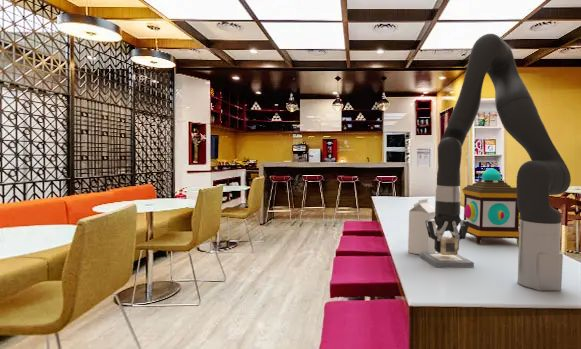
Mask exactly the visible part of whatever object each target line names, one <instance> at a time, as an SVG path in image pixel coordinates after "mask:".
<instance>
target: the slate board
mask: <svg viewBox="0 0 581 349" xmlns="http://www.w3.org/2000/svg"><path fill="white" fill-rule="evenodd" d="M419 256H420V258H421V259H422V260H424V261H426V262H427V263H428V264H430V265H432V266H433V267H434V268H475V262H473V261H472V260H470V259H468V258H466V257H464V256H462V255H460V254H458V255H441V254H439V253H438V252H435V253H421V255H419Z"/></svg>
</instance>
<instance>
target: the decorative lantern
mask: <svg viewBox="0 0 581 349" xmlns="http://www.w3.org/2000/svg"><path fill="white" fill-rule="evenodd" d="M461 191H462V193H463V196H464V198H463V199H464V203H463V206H464V207H463V208H464V209H463V220H466V221H468V222H469V226H468V230H467V233H466V234H468V235H471V236H473V237H475V239H476V244H477V245H479V246H480V245H481V243H482V240H483V239H516V244H517V246H519V226H520V213H519V210H518V207H517V187H514V186H513V187H512V186H511V185H509V184H508V183H507V182H505V180H504V179H503V180H502V176H501V173H500V172H499V171H498V170H497V169H495V168H493V167H492V168H487V169H486V170H485V171H484V172H483V173H482V175H481V179H478V181H475V182H474V183H472V184H467V186H465V187H463V188H462V189H461Z"/></svg>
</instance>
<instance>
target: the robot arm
mask: <svg viewBox="0 0 581 349" xmlns="http://www.w3.org/2000/svg"><path fill="white" fill-rule="evenodd" d="M486 75H488V76H489V78H490V80H491V82H492V85H493V87H494V103H495V108H496V112H497V115H498V117H499V120H500V122H501V125H502V127H503V128H504V129H505V131H506V132H507V134H509V135H510V136H511V137H512V138H513V139H514V140H515V141H516V142H517V143H518V144H519V145H520V146H521V147H522V148H523V149H524V150H525V151H526V152H527V154H528V156H529V159H530V160H528V161H527V160H526V161H525V162H524V163H522V164H521V166H520V167H519V169H518V171H517V174H516V188H517V207H518V210H519V225H518V229H519V245H518V256H517V258H518V259H517V283H518V284H520V285H521V286H524V287H525V288H529V289H533V290H534V289H535V290H536V291H539V292H540V291H542V292H543V291H562V287H563V286H562V282H563V281H562V280H563V259H564V256H563V253H561V240H562V239H561V237H562V235H561V234H562V213H561V211H560V210H558V209H555V208H554V207H553V206H552V204H551V203H550V196H557V195H561V194H564V193H566V191H567V190H568V189H569V188H570V185H571V183H572V182H571V180H572V178H571V173H570V169H569V168H568V165H567V164H566V162H565V161H564V159H563V158H562V156H561V155H560V152H559V151H558V149H557V148H556V146H555V145H554V143H553V141H552V139H551V137H550V135H549V132H548V131H547V129H546V127H545V124H544V122H543V121H542V119H541V116H540V114H539V111H538V108H537V106H536V104H535V102H534V100H533V98H532V96H531V93H530V92H529V90H528V88H527V86H526V85H525V83H524V81H523V79H522V77H521V75H520V73H519V71H518V68H517V63H516V61H515V58H514V53H513V51H512V48H511V47H510V45H509V44H508V43H507V42H506V41H505V40H504V39H502V38H501V37H500V36H499V35H497V34H495V33H486V34H483V35H482V36H479V38H477V40H476V41H475V42H474V44H473V46H472V48H471V50H470V54H469V58H468V62H467V67H466V70H465V74H464V77H463V82H462V84H461V89H460V92H459V96H458V98H457V100H456V103H455V105H454V107H453V110H452V111H451V114H450V118H449V119H448V124H447V127H446V128H445V131H444V132H443V134H442V136H441V139H440V141H439V143H438V145H437V167H438V168H437V172H436V188H435V202H434V206H435V207H434V209H435V217H434V219H433V220H426V221H425V223H426V227H427V231H428V236H429V237H430V238H432V239H434V240H435V244H434V249H435V250H436V252H435V253H440V251H441V241H440V240H441V238H442V236H444V234H445V232H449V233H450V234H451V237H453V238H456V239H458V251H459V249H460V240H464V239H466V235H467V234H468V233H467V230H468V226H469V222H468V221H466V220H464V219H461V217H460V215H461V199H462V196H461V194H462V192H461V191H462V190H461V164H462V153H463V152H462V151H463V145H464V143H465V140H466V138H467V134H468V133H469V131H470V130H471V129H472V126H473V124H474V122H475V120H476V118H477V115H478V113H479V109H480V106H481V100H482V89H483V85H484V80H485V77H486ZM434 223H435V224H436V231H435V232H436V233H434V229H433V226H434ZM458 226H459V229H458Z"/></svg>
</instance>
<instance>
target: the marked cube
mask: <svg viewBox="0 0 581 349" xmlns="http://www.w3.org/2000/svg"><path fill="white" fill-rule="evenodd" d="M440 241H441V251H440V253H439V254H441V255H459V254H458V253H459V252H458V251H459V250H458V239H456V238H453V237H452V235H451V236H449V235H442V238H441V240H440ZM435 251H436V250H435Z"/></svg>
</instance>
